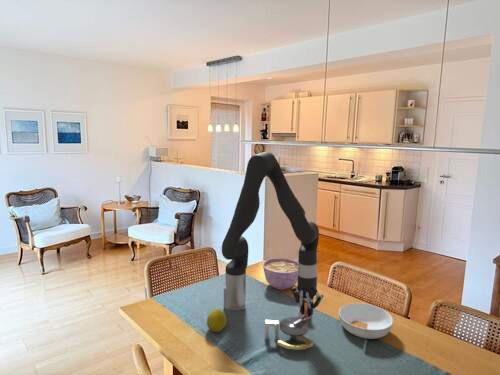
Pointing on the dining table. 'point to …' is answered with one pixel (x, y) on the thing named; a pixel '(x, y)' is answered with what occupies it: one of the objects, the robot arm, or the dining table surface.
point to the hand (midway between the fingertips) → (306, 314)
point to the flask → (300, 314)
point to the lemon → (216, 320)
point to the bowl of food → (281, 272)
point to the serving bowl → (366, 320)
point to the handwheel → (296, 330)
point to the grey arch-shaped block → (271, 323)
